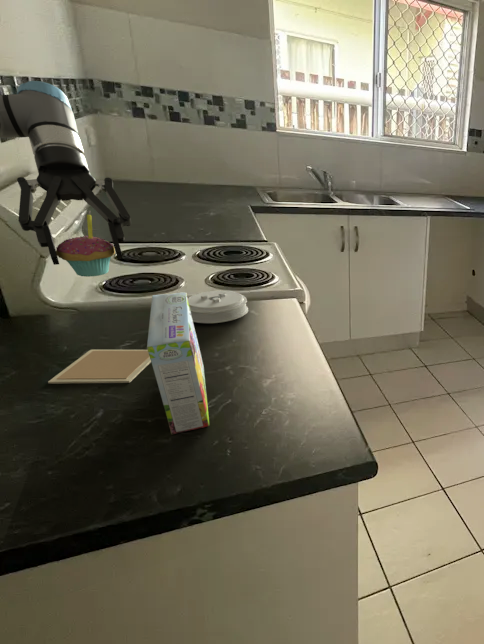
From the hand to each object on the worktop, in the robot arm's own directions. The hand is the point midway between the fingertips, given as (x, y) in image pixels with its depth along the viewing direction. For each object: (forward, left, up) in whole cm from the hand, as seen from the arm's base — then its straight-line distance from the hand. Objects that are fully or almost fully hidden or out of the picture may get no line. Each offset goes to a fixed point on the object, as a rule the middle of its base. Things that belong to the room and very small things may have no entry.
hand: (88, 258), depth 88 cm
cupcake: (-2, +3, -4) cm, 5 cm away
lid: (+16, +12, -17) cm, 26 cm away
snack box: (+23, -23, -17) cm, 36 cm away
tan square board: (+6, -12, -17) cm, 21 cm away
